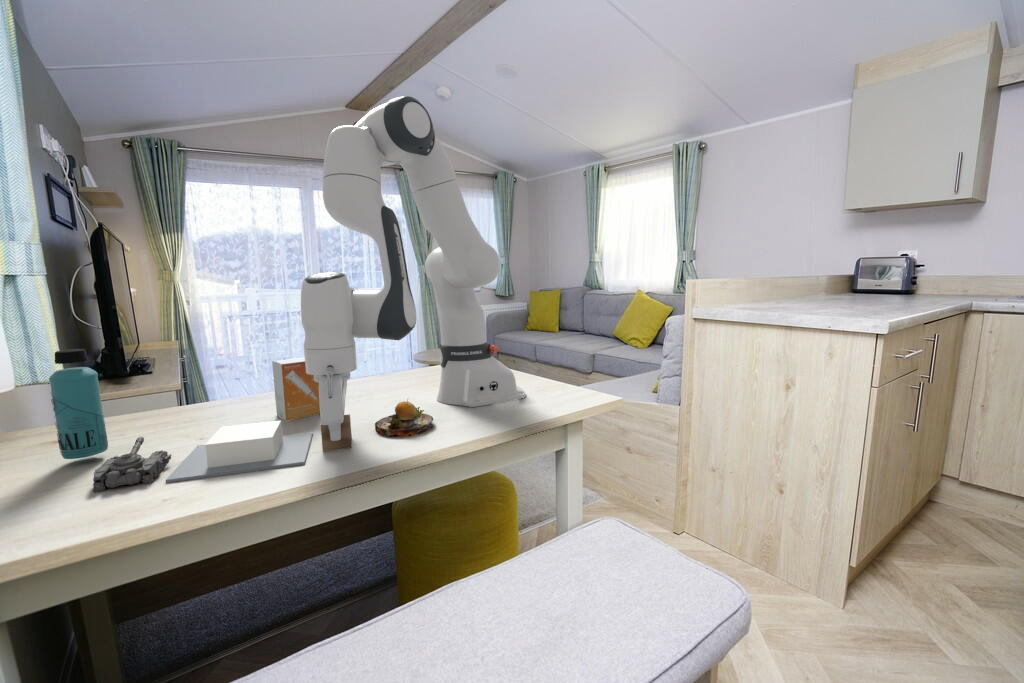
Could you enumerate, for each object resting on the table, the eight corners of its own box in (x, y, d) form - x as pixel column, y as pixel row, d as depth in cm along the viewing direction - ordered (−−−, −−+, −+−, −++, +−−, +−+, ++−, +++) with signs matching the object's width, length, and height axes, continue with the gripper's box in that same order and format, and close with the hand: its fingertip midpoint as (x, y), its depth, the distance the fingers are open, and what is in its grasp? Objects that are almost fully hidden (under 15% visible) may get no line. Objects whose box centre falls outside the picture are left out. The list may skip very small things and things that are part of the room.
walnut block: (351, 439, 92) (350, 414, 91) (351, 447, 87) (349, 421, 86) (324, 442, 90) (322, 417, 90) (322, 451, 86) (320, 425, 85)
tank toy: (111, 469, 80) (106, 440, 80) (177, 459, 84) (174, 432, 84) (83, 499, 70) (77, 465, 69) (160, 486, 74) (156, 454, 73)
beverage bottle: (102, 451, 88) (86, 345, 85) (117, 457, 84) (101, 347, 82) (55, 463, 82) (36, 350, 79) (70, 471, 79) (51, 353, 76)
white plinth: (283, 440, 90) (281, 420, 90) (274, 459, 81) (272, 437, 80) (223, 447, 87) (221, 426, 87) (207, 467, 78) (205, 444, 77)
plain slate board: (312, 434, 95) (312, 432, 95) (304, 464, 80) (304, 461, 80) (197, 448, 89) (197, 445, 88) (165, 482, 73) (165, 479, 73)
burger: (432, 418, 105) (431, 385, 104) (435, 435, 94) (434, 399, 93) (377, 423, 103) (374, 389, 102) (373, 441, 91) (370, 403, 90)
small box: (286, 422, 103) (280, 364, 102) (276, 416, 108) (271, 360, 106) (322, 414, 109) (318, 358, 107) (312, 409, 114) (307, 355, 112)
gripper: (348, 370, 78) (354, 450, 80) (349, 352, 97) (354, 417, 99) (307, 373, 76) (314, 455, 78) (316, 354, 95) (322, 420, 97)
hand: (336, 433), depth 88 cm, fingers closed on walnut block, 5 cm apart
